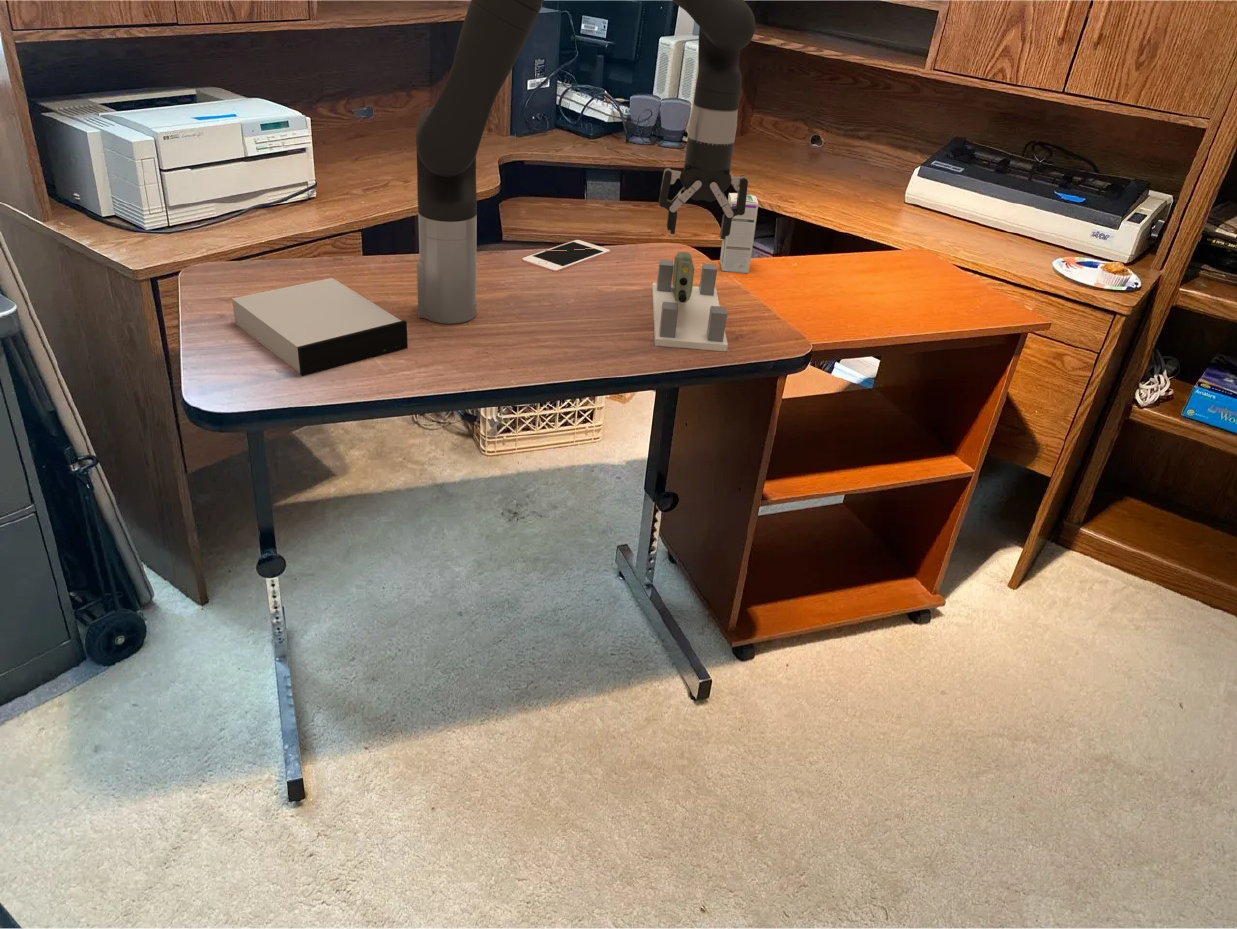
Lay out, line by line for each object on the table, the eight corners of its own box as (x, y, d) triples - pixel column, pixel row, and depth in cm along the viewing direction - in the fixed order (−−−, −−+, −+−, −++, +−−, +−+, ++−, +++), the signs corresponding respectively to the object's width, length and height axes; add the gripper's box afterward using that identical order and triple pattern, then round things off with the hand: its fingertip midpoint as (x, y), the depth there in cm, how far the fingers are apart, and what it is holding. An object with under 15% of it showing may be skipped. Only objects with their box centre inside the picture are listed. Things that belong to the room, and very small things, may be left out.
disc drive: (303, 379, 133) (299, 348, 131) (234, 326, 147) (230, 296, 144) (408, 351, 144) (407, 321, 142) (335, 304, 158) (333, 276, 155)
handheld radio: (689, 288, 173) (692, 307, 150) (671, 286, 174) (672, 305, 150) (693, 252, 171) (696, 265, 148) (675, 250, 172) (676, 263, 148)
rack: (654, 345, 153) (658, 310, 150) (652, 288, 175) (655, 257, 172) (726, 351, 153) (732, 316, 150) (714, 294, 175) (719, 262, 172)
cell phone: (520, 262, 182) (520, 258, 182) (577, 243, 195) (577, 239, 195) (555, 274, 178) (555, 270, 178) (610, 254, 191) (611, 249, 190)
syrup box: (749, 273, 187) (760, 202, 179) (720, 271, 187) (730, 199, 179) (746, 264, 192) (757, 194, 184) (717, 261, 192) (728, 191, 184)
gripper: (667, 136, 144) (655, 238, 153) (758, 146, 145) (741, 246, 153) (666, 126, 151) (655, 224, 159) (752, 135, 151) (737, 232, 160)
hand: (697, 235), depth 156 cm, fingers open, 8 cm apart
